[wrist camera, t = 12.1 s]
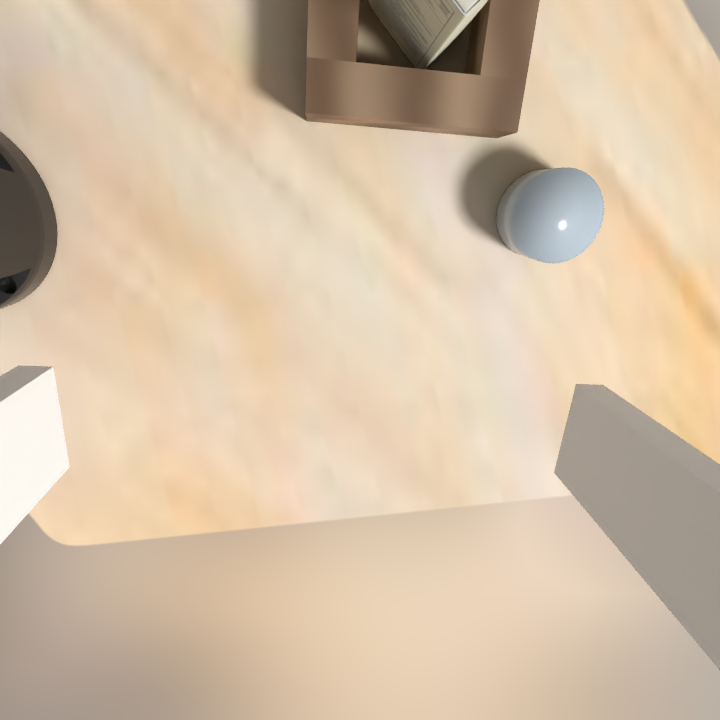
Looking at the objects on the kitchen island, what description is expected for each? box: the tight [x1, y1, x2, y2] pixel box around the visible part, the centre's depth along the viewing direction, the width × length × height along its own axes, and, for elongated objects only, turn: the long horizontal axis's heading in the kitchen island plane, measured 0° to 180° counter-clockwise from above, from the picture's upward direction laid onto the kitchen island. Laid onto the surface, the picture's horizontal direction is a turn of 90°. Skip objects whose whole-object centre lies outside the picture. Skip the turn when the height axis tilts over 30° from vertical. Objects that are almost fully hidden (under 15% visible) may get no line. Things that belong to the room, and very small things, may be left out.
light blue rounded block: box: [496, 168, 604, 263], centre depth 37 cm, size 7×7×4 cm
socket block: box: [305, 0, 539, 138], centre depth 31 cm, size 15×15×4 cm
